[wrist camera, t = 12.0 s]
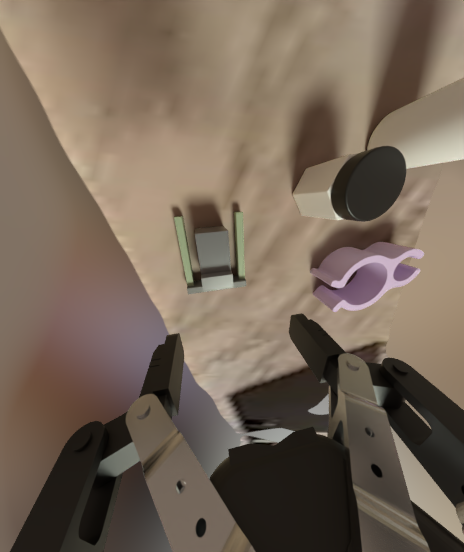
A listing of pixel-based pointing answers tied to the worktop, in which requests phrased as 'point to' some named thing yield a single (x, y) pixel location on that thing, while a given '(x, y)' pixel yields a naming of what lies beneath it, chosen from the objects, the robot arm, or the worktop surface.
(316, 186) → the jar
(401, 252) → the clip
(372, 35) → the worktop surface
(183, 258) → the deck socket
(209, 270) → the upright grey block
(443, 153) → the alcohol
